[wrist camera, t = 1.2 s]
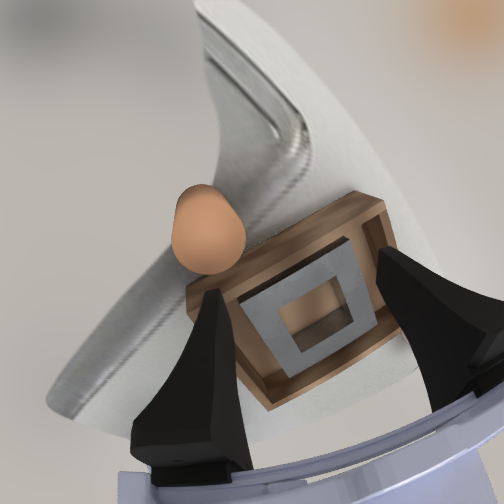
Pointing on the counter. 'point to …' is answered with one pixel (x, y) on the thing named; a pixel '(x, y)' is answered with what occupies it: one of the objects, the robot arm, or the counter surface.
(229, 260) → the peg
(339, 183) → the counter surface
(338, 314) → the socket plate
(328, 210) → the socket box
